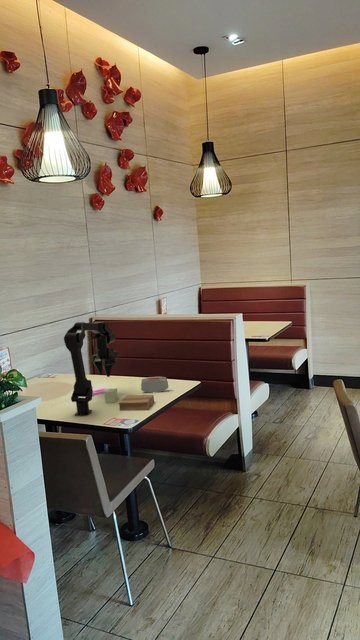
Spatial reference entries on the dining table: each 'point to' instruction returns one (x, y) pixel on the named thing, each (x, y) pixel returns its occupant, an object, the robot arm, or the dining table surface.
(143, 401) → the walnut block
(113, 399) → the sage cube
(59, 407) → the dining table surface
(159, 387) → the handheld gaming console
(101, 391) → the bracket
